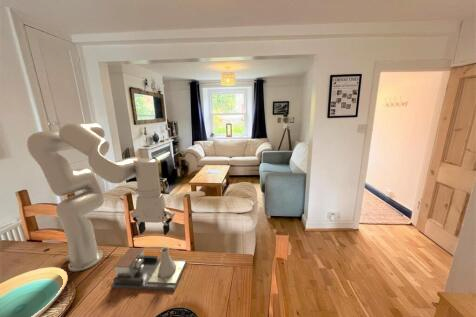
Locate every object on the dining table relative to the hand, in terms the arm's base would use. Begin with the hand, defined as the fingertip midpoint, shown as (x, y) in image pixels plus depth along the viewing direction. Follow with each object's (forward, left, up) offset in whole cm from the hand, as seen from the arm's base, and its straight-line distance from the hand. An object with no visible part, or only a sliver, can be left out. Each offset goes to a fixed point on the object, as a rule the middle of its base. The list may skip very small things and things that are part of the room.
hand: (154, 232), depth 75 cm
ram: (-11, 0, -18) cm, 21 cm away
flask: (+3, 0, -18) cm, 18 cm away
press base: (-4, 0, -20) cm, 20 cm away
